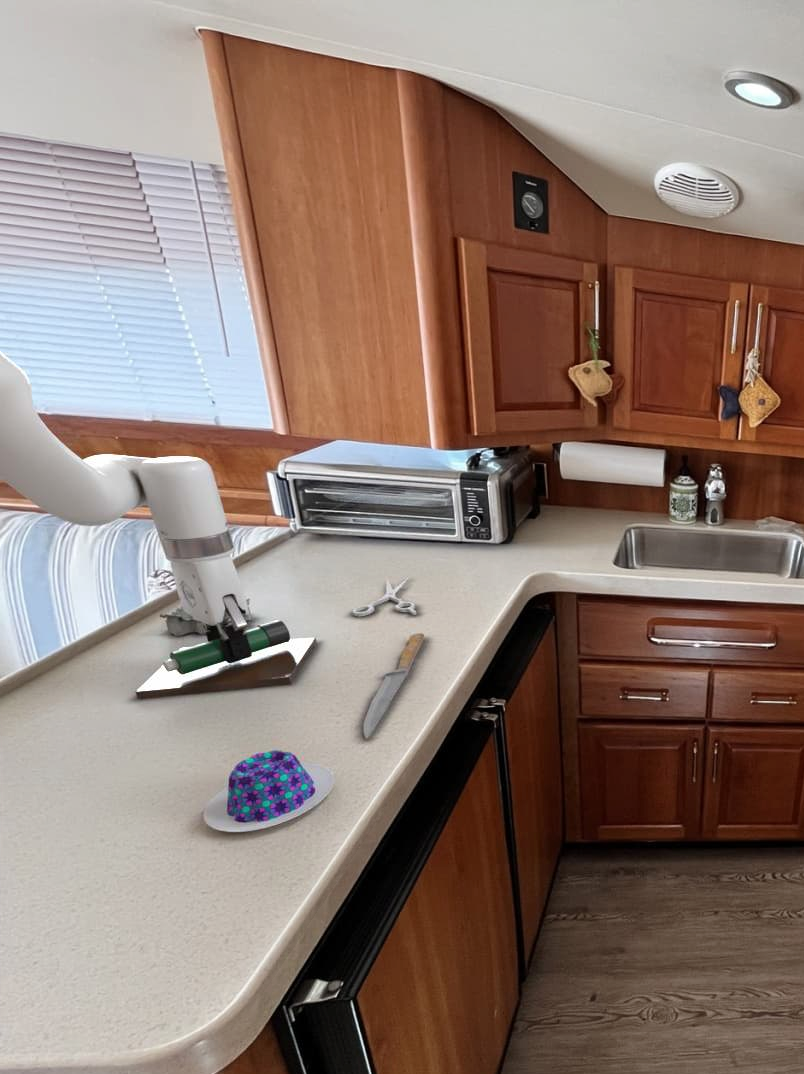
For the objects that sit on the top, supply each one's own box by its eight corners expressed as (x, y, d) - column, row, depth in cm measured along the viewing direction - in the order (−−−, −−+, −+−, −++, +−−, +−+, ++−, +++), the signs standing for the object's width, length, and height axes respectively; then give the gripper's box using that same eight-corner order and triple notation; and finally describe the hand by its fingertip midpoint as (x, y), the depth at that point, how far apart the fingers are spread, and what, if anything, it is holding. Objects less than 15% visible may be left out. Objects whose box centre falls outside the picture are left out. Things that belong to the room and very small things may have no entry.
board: (137, 699, 91) (135, 691, 90) (183, 654, 102) (181, 647, 102) (291, 684, 97) (289, 677, 97) (317, 643, 109) (315, 637, 108)
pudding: (317, 755, 82) (308, 721, 80) (350, 800, 76) (341, 764, 74) (194, 799, 74) (181, 763, 72) (219, 854, 67) (205, 815, 65)
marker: (175, 682, 92) (168, 659, 90) (162, 672, 94) (155, 649, 92) (292, 645, 104) (287, 624, 103) (279, 636, 106) (274, 616, 104)
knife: (404, 634, 112) (423, 632, 113) (405, 639, 112) (424, 638, 113) (349, 737, 85) (375, 734, 86) (351, 744, 86) (376, 741, 87)
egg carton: (162, 637, 107) (154, 615, 105) (187, 618, 113) (180, 597, 112) (238, 633, 110) (232, 612, 108) (258, 615, 116) (252, 595, 115)
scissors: (349, 616, 117) (368, 577, 134) (350, 620, 118) (369, 581, 134) (415, 611, 121) (426, 574, 138) (416, 615, 122) (426, 577, 138)
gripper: (139, 538, 92) (177, 649, 99) (192, 563, 85) (229, 681, 92) (203, 527, 98) (235, 633, 105) (258, 550, 91) (288, 661, 99)
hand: (232, 654), depth 99 cm, fingers closed on marker, 3 cm apart
